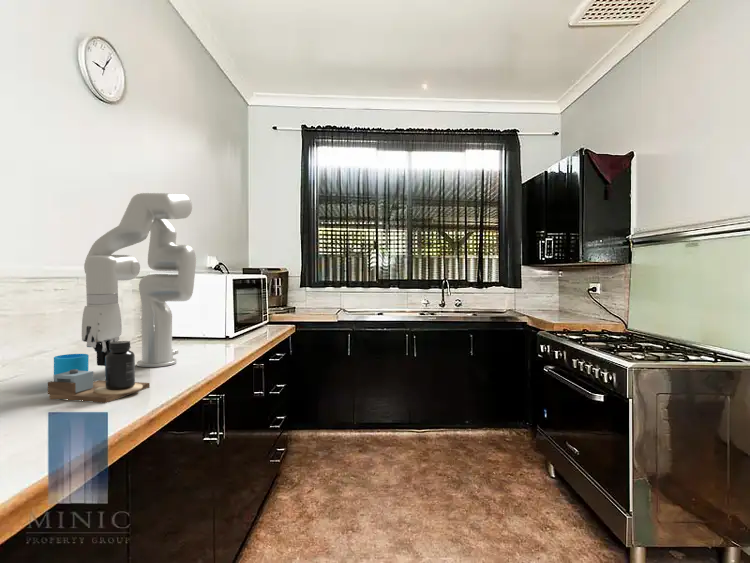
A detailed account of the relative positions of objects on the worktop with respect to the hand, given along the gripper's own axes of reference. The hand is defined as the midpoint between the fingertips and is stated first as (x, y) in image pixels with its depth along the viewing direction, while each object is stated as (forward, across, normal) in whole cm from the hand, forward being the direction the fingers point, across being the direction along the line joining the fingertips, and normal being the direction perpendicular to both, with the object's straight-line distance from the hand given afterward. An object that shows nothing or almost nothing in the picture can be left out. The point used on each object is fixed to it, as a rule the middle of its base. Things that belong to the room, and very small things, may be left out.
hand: (104, 364), depth 126 cm
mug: (+6, -1, -11) cm, 13 cm away
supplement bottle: (+4, +7, +10) cm, 13 cm away
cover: (+4, +11, 0) cm, 12 cm away
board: (+6, +7, +5) cm, 10 cm away
